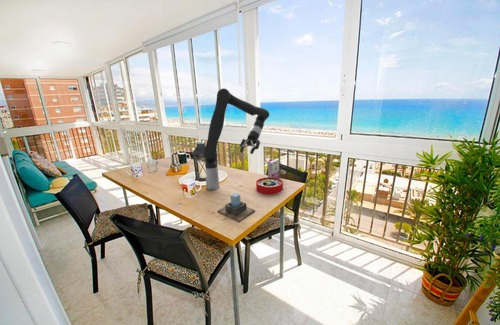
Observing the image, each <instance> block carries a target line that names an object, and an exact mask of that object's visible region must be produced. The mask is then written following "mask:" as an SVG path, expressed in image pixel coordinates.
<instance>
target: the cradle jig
mask: <svg viewBox="0 0 500 325" xmlns="http://www.w3.org/2000/svg"><path fill="white" fill-rule="evenodd" d="M240 202H241V205H240V206H239V207H237V208H235V207H232V206H231V201H230V202H228V203H226V204H225V205H224V206H223V207H221V208H219V209H218V210H217V213H219V214H222V215H223V216H225V217H227V218H230V219H231V220H232V219H233V220H234V221H236V222H238V223H240V222H241V221H243V220H245V219H246V218H247V217H249V216H251V215H253V213H255V212H256V210H255V209H254V208H252V207H248V206H247V203H246V202H243V201H241V200H240Z"/></svg>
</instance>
